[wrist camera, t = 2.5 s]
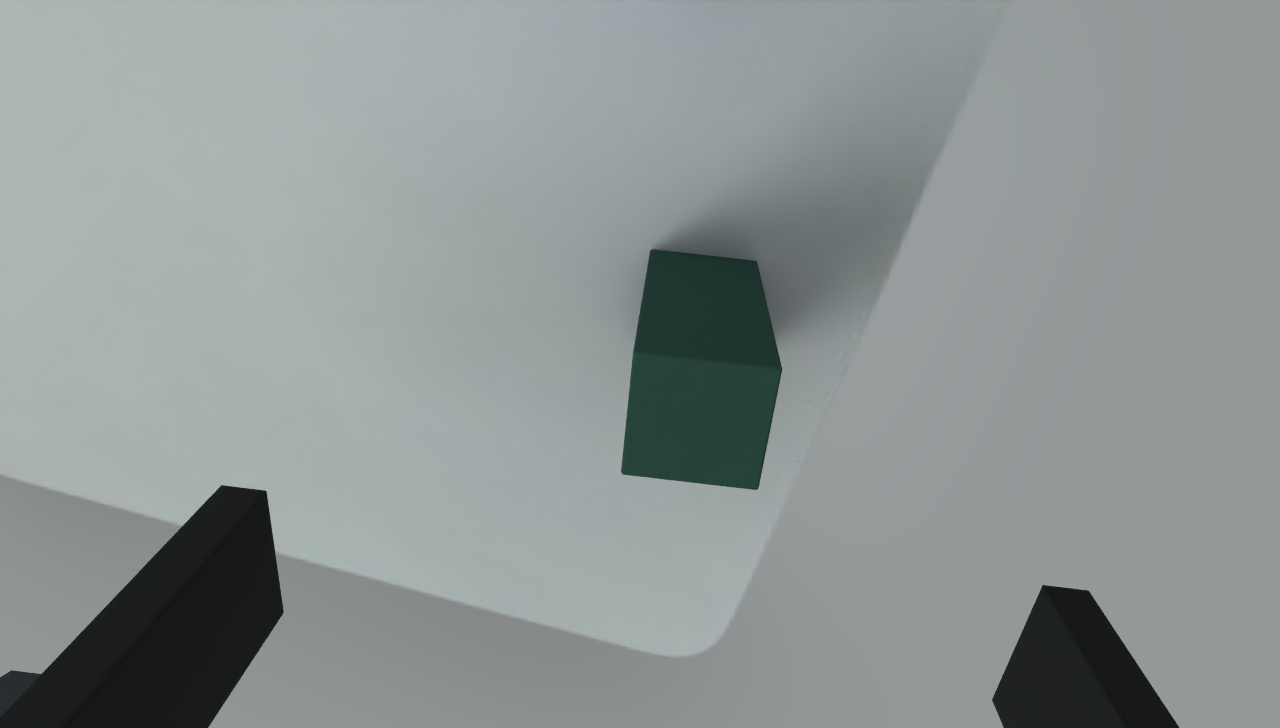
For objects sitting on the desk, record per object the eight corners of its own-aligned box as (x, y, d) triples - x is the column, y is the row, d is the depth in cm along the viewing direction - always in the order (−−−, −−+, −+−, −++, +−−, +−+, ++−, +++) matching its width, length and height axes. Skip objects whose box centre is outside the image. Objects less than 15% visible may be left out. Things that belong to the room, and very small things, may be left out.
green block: (757, 260, 28) (783, 368, 20) (740, 357, 30) (758, 491, 22) (650, 248, 28) (633, 351, 20) (640, 345, 30) (620, 475, 22)
